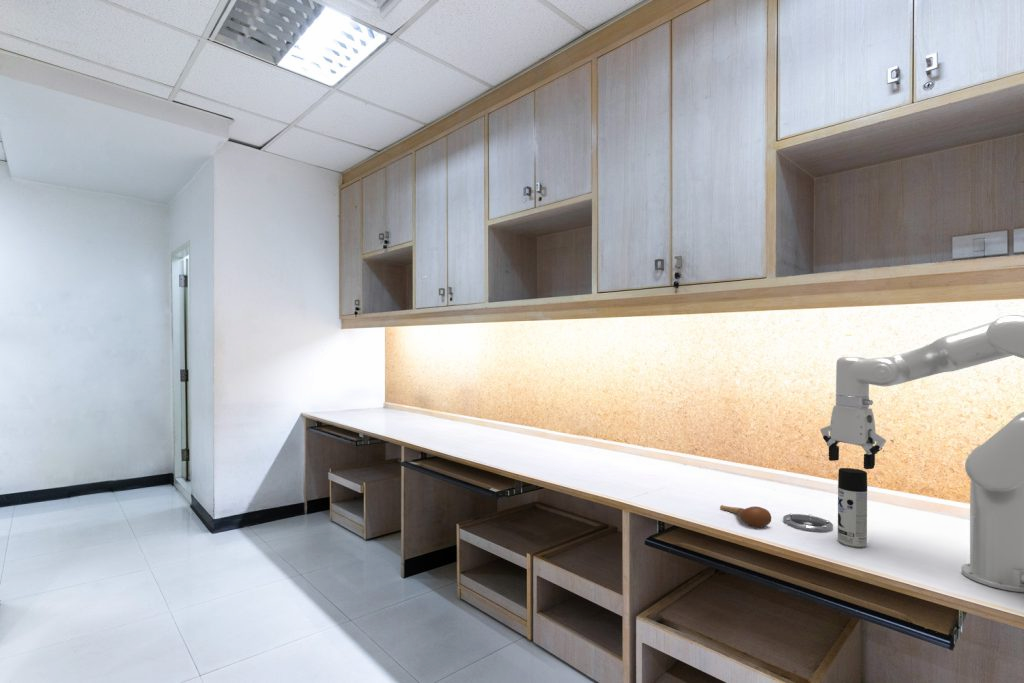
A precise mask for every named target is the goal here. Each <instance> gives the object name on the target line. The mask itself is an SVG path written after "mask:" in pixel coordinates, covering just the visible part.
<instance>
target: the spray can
mask: <svg viewBox="0 0 1024 683" xmlns="http://www.w3.org/2000/svg"><path fill="white" fill-rule="evenodd" d="M837 473H838V474H837V475H838V478H837V540H838V542H839V543H840V544H841V545H843V546H845V547H846V546H847V547H850V548H854V549H855V548H857V549H863V548H866V547H867V544H868V543H867V542H868V540H867V539H868V473H867V471H866V470H862V469H859V468H850V467H839V468H838V472H837Z"/></svg>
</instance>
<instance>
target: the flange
mask: <svg viewBox="0 0 1024 683" xmlns="http://www.w3.org/2000/svg"><path fill="white" fill-rule="evenodd" d="M782 521H783V524H785V525H786V524H787V525H786V526H788V527H790V526H791V527H790V528H793V527H794V529H796V530H800V531H805V532H810V533H829V532H832V531H833V530H834V524H833V523H832V522H831V521H830V520H827V519H825V518H822V517H818V516H814V515H813V514H804V513H803V514H801V513H800V514H799V513H789V514H785V515H783V518H782Z"/></svg>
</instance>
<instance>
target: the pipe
mask: <svg viewBox="0 0 1024 683" xmlns="http://www.w3.org/2000/svg"><path fill="white" fill-rule="evenodd" d="M719 508H720V511H725V512H730V513H734V514H736V515H737V516H738V517H739V518H740V519H741V520H742V522H744V523H745V524H746V525H749V526H750V527H752V528H763V527H766V526H768V525H770V523H771V522H772V516H771V513H770V511H769V510H768V509H766V508H765V507H761V506H749V507H746V508H742V507H735V506H727V505H723V504H721V505H720V506H719Z"/></svg>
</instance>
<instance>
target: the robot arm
mask: <svg viewBox="0 0 1024 683" xmlns="http://www.w3.org/2000/svg"><path fill="white" fill-rule="evenodd" d="M1013 356H1014V357H1017V358H1020V359H1024V315H1020V314H1009V315H1004V316H1001V317H999V318H997V319H995V320H994V321H991V322H987V323H984V324H981V325H978V326H976V327H971V328H968V329H966V330H963V331H959V332H955V333H951V334H948V335H945V336H943V337H940V338H938V339H936V340H934V341H933V342H932V343H929V344H927V345H925V346H922V347H920V348H916V349H914V350H913V349H912V350H910V351H907V352H903V353H899V354H897V355H893V356H887V357H885V356H884V357H874V358H865V357H858V356H857V357H856V356H855V357H854V356H844V357H843V356H842V357H839V358H838V359H836V366H835V367H836V370H835V372H836V374H835V376H836V377H835V404H834V405H833V406H832V411H831V417H830V424H829V425H828V426H825V427H823V428H820V433H821V436H822V439H823V440H824V441H825V443H826V446H827V447H828V460H829V462H834V461H839V460H840V455H839V454H840V446H839V445H838V444H839V443H844V444H849V445H854V446H861V448H862V449H863V450H864V452H865V453H864V454H863V469H865V470H873V469H874V468H875V465H876V455H877V454H878V452H880V451H882V450H883V447H884V446H885V444H886V443H887V440H886V439H885V438H883V437H882V436H881V435H880V434H878V433H876V422H875V416H874V413H873V412H874V411H873V409H872V408H869V407H870V406H873V404H874V400H873V399H870V385H872V386H877V387H891V386H895V385H901V384H905V383H908V382H911V381H915V380H918V379H919V380H920V379H923V378H927V377H930V376H933V375H938V374H943V373H949V372H951V373H952V372H955V371H959V370H962V369H966V368H970V367H975V366H978V365H981V364H985V363H989V362H993V361H998V360H1000V359H1005V358H1009V357H1013ZM964 468H965V473H966V476H968V478H969V479H970V489H969V490H970V492H969V493H970V494H969V496H970V497H969V563H965V564H963V565H961V573H962V574H963V575H964V576H965V577H967V578H968V579H969V580H972V581H975V582H976V583H979V584H982V585H985V586H988V587H992V588H995V589H1000V590H1004V591H1009V592H1016V593H1024V411H1022V412H1020V413H1018V414H1017V415H1015V416H1014V417H1013V418H1012V419H1011V420H1010V421H1009V422H1008V423H1006V424H1005V425H1004V426H1003V427H1002V428H1001V429H999V430H997V432H996V433H994V434H993V435H992V436H991V437H989V438H988V439H987V440H986V441H985V442H984V443H982V444H981V445H980V444H979V445H978V446H977V447H975V448H974V449H973V450H972V451H971V452H970V454H969V455H968V456H967V458H966V460H965V463H964Z"/></svg>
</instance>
